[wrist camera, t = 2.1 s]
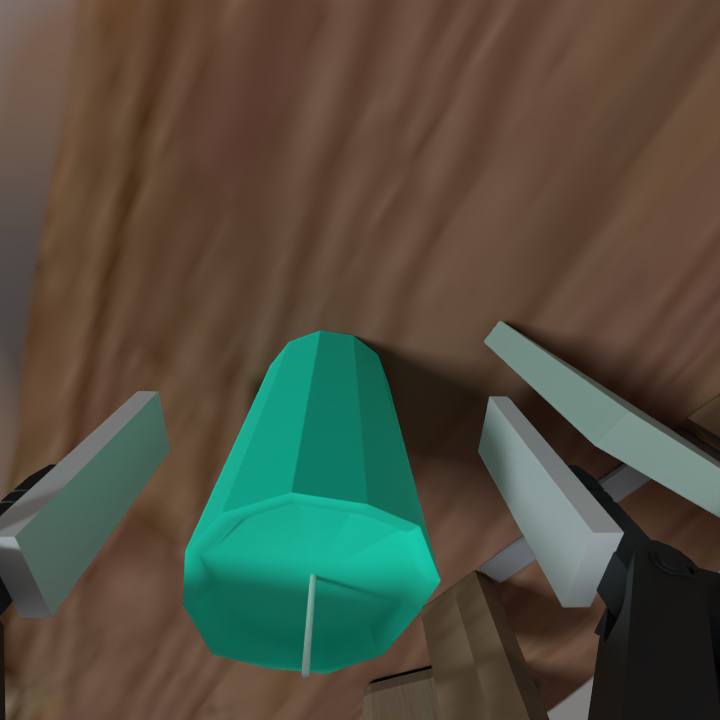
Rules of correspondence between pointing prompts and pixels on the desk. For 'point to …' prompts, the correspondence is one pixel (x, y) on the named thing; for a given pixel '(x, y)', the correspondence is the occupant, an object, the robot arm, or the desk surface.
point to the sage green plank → (612, 420)
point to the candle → (312, 520)
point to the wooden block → (402, 698)
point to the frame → (492, 627)
